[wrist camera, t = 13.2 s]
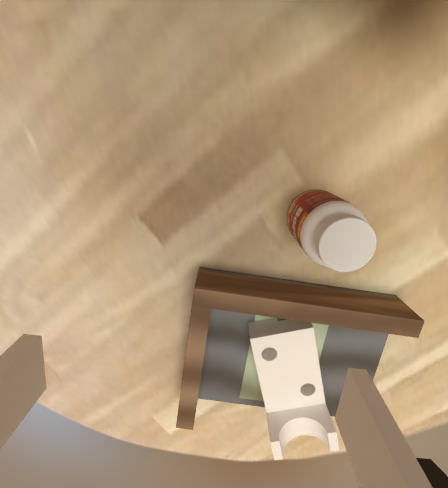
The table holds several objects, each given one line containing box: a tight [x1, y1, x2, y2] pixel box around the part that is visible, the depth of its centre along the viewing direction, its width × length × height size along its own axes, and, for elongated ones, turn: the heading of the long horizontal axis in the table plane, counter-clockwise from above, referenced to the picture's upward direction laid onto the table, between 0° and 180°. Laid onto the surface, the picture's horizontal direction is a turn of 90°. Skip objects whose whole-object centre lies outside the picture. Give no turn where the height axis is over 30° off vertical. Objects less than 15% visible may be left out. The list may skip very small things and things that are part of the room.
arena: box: [176, 267, 424, 430], centre depth 39 cm, size 18×24×6 cm
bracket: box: [248, 318, 339, 460], centre depth 37 cm, size 13×7×8 cm, turn 12°
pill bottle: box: [287, 190, 377, 272], centre depth 31 cm, size 6×6×11 cm
